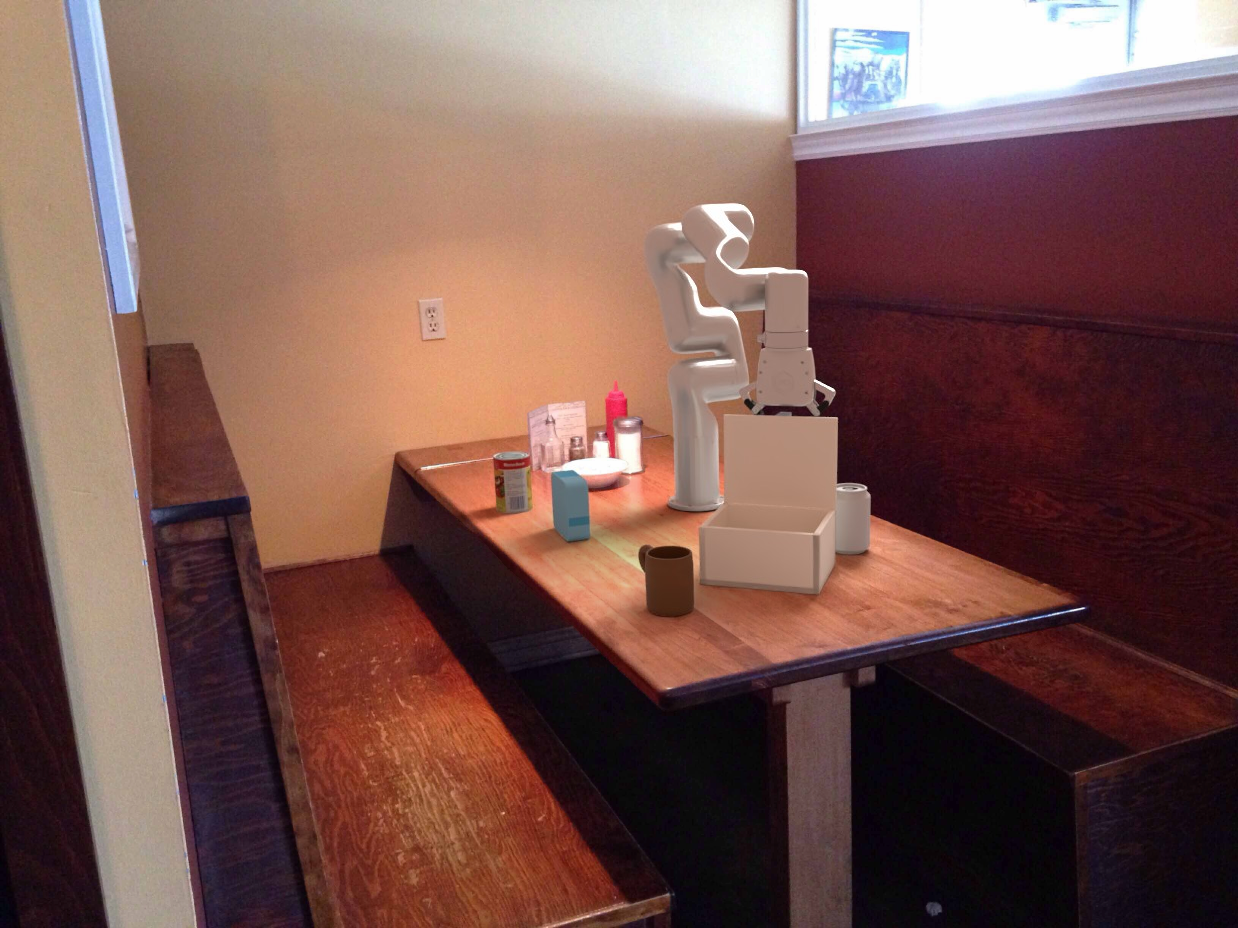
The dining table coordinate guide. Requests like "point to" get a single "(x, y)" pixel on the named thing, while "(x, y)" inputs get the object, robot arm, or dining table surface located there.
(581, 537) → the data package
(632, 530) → the dining table surface
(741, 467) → the flap
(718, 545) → the mailer box
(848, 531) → the can
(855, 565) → the dining table surface
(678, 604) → the mug
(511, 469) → the canned food
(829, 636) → the dining table surface
